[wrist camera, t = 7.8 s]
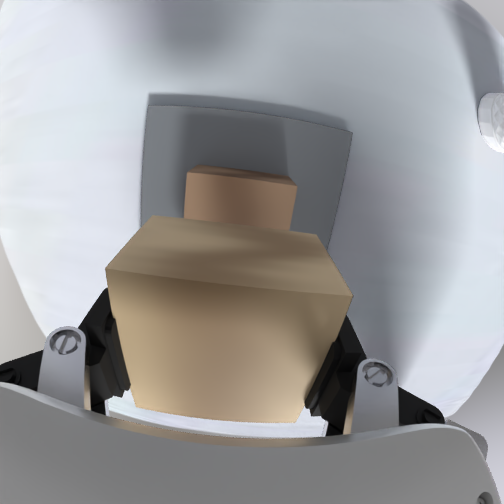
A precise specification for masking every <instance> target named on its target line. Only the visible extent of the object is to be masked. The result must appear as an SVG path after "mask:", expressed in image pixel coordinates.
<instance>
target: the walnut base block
mask: <svg viewBox="0 0 504 504" xmlns="http://www.w3.org/2000/svg"><path fill="white" fill-rule="evenodd" d="M297 187H298V186H297V185H296V184H295V183H294V182H293V181H292V180H291V178H290V177H289V176H284V175H278V174H271V173H265V172H258V171H250V170H242V169H234V168H226V167H217V166H207V165H196V166H195V167H194V168H192V169H191V170H190V171H188V172H187V180H186V192H185V206H184V218H185V219H195V220H204V221H213V222H222V223H230V224H239V225H247V226H255V227H263V228H271V229H279V230H287V231H289V229H290V224H291V219H292V213H293V208H294V203H295V198H296V193H297Z"/></svg>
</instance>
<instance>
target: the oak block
mask: <svg viewBox="0 0 504 504" xmlns="http://www.w3.org/2000/svg"><path fill="white" fill-rule="evenodd" d="M105 270H106V278H107V285H108V292H109V298H110V304H111V310H112V315H113V318H115V319H116V323H117V328H118V333H119V338H120V343H121V347H122V352H123V356H124V360H125V364H126V368H127V372H128V376H129V379H130V383H131V386H130V389H131V392H132V396H133V399H134V402H135V405H136V407H138V408H142V409H147V410H152V411H157V412H163V413H168V414H174V415H181V416H187V417H195V418H203V419H212V420H223V421H236V422H256V423H295V422H296V420H297V419H298V417H299V415H300V413H301V411H302V409H303V407H304V406H305V404H304V401H305V400H306V398H307V396H308V394H309V392H310V390H311V388H312V385H313V383H314V381H315V379H316V377H317V375H318V373H319V371H320V369H321V366H322V364H323V362H324V360H325V358H326V355H327V353H328V351H329V349H330V346H331V344H332V342H335V340H336V338H337V336H338V333H339V331H340V328H341V326H342V323H343V321H344V318H345V316H346V313H347V311H348V308H349V306H350V303H351V300H352V298H353V295H352V293H351V291H350V289H349V288H348V286H347V284H346V282H345V281H344V279H343V277H342V276H341V274H340V272H339V271H338V269H337V267H336V266H335V264H334V262H333V261H332V259H331V257H330V256H329V254H328V252H327V251H326V249H325V247H324V246H323V244H322V243H321V241H320V239H319V238H318V236H317V235H316V234H309V233H302V232H295V231H287V230H279V229H271V228H263V227H255V226H247V225H239V224H230V223H222V222H213V221H204V220H195V219H185V218H176V217H166V216H155V215H152V216H151V217H150V218H149V219H148V221H147V222H146V223H145V224H144V225H143V226H142V227H141V228H140V229H139V230H138V231H137V232H136V234H135V235H134V236H133V237H132V238H131V239H130V240H129V241H128V242H127V244H126V245H125V246H124V247H123V248H122V249H121V250H120V251H119V253H118V254H117V255H116V256H115V257H114V258H113V260H112V261H111V262H110V263H109V264H108V266H107V267H106V268H105Z"/></svg>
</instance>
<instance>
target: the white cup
mask: <svg viewBox="0 0 504 504" xmlns="http://www.w3.org/2000/svg"><path fill="white" fill-rule="evenodd" d="M478 122H479V126H480V130H481V134H482V136H483V138H484V140H485V142H486V143H487V145H488V146H489V147H491V148H492V149H493V150H495V151H498V152H501V153H504V93H487V94H486V95H485V96H483V97H482V98H481V101H480V104H479V107H478Z"/></svg>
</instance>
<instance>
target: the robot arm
mask: <svg viewBox="0 0 504 504" xmlns="http://www.w3.org/2000/svg"><path fill="white" fill-rule="evenodd" d="M130 386H131V383H130V379H129V376H128V372H127V368H126V364H125V360H124V356H123V352H122V347H121V343H120V338H119V333H118V328H117V323H116V319H115V318H113V315H112V310H111V304H110V298H109V292H108V288H105V289H104V291H103V292H102V293H101V295H100V296H99V298H98V299H97V300H96V302H95V303H94V305H93V306H92V308H91V309H90V311H89V312H88V314H87V315H86V317H85V318H84V320H83V321H82V323H81V324H80V326H79V327H78V328H76V327H71V326H66V327H60V328H58V329H56V330H54V331H53V332H51V333H50V334H49V336H48V337H47V339H46V342H45V346H44V350H41V351H38V352H35V353H32V354H29V355H26V356H24V357H21V358H18V359H15V360H12V361H9V362H6V363H3V364H1V365H0V504H501V501H500V497H499V495H498V491H497V488H496V485H495V482H494V479H493V477H492V474H491V472H490V469H489V467H488V465H487V463H486V456H487V450H488V445H487V442H486V440H485V439H484V437H483V436H481V435H480V434H478V433H476V432H474V431H472V430H469V429H467V428H465V427H463V426H461V425H459V424H457V423H455V422H453V421H451V420H449V419H447V420H446V421H445V420H444V417H443V415H442V413H441V412H440V410H439V409H438V408H436V407H435V406H433V405H431V404H429V403H428V402H426V401H424V400H422V399H420V398H418V397H416V396H415V395H413V394H411V393H409V392H407V391H406V390H404V389H402V388H400V387H398V380H397V374H396V372H395V370H394V369H393V368H392V367H391V366H390V365H389V364H388V363H386V362H384V361H382V360H379V359H373V358H371V359H367V358H366V355H365V353H364V351H363V349H362V346H361V344H360V342H359V340H358V338H357V335H356V333H355V331H354V329H353V327H352V325H351V323H350V321H349V318H348V317H347V315H346V316H345V318H344V321H343V323H342V326H341V328H340V331H339V333H338V336H337V338H336V340H335V342H332V344H331V346H330V349H329V351H328V353H327V355H326V358H325V360H324V362H323V364H322V366H321V369H320V371H319V373H318V375H317V377H316V379H315V381H314V383H313V385H312V388H311V390H310V392H309V394H308V396H307V398H306V400H305V401H304V404H305V407H306V408H307V409H310V413H311V416H321V417H322V418H323V419H324V420H325V424H324V428H323V432H322V436H321V437H313V438H291V439H255V438H234V437H221V436H210V435H201V434H192V433H186V432H178V431H173V430H167V429H161V428H156V427H151V426H146V425H141V424H137V423H133V422H129V421H124V420H121V419H117V418H113V417H109V408H108V399H109V398H111V397H112V396H117V397H121V398H122V396H123V393H124V390H126V391H128V390H129V389H130Z"/></svg>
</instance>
